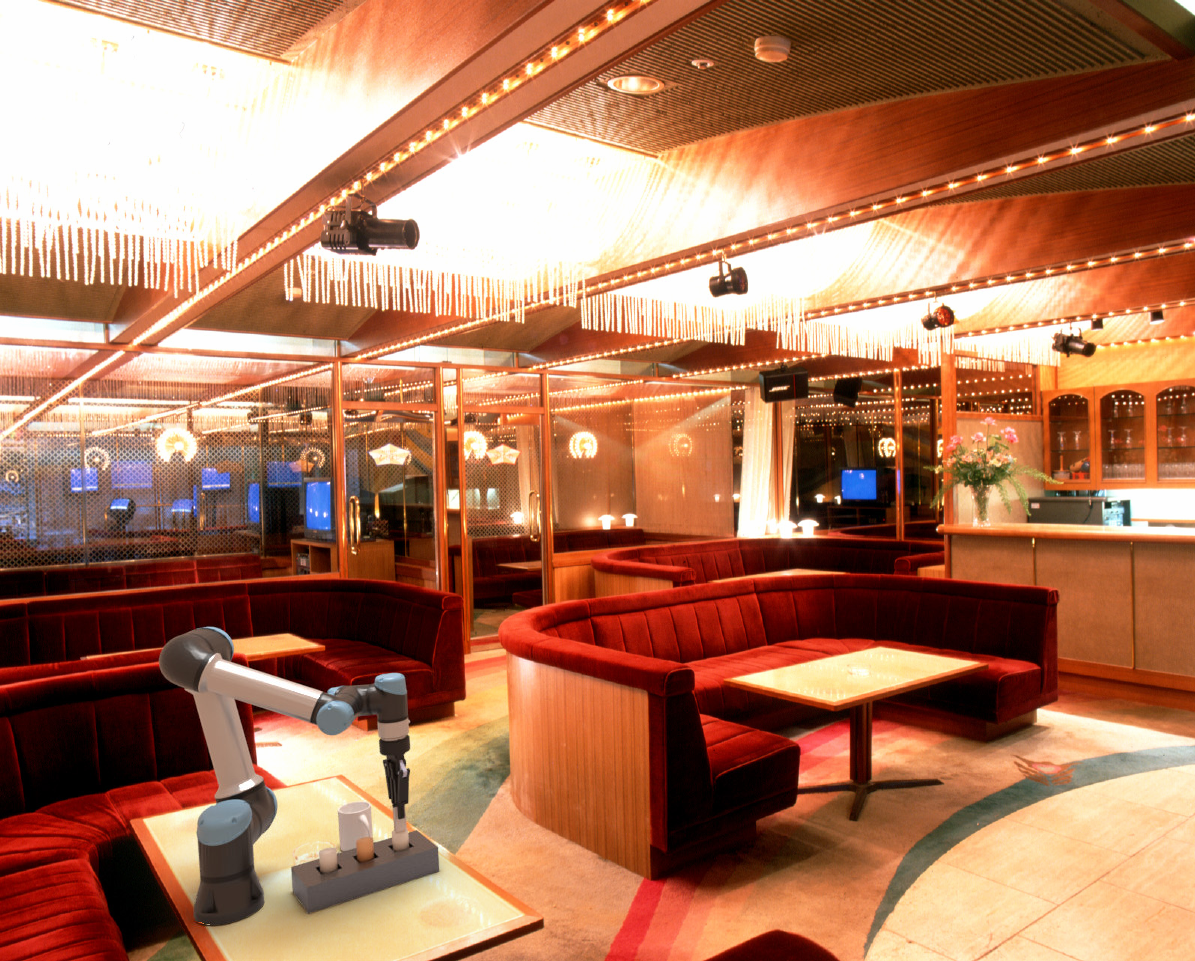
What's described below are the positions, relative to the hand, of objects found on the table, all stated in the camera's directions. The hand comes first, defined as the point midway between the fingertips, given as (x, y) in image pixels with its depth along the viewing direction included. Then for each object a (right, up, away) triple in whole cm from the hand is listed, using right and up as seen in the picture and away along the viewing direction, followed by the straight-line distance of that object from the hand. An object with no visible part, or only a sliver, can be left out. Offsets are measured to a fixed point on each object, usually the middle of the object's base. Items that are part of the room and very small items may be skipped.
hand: (400, 830), depth 213 cm
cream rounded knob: (0, -5, 0) cm, 5 cm away
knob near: (-15, -6, -10) cm, 19 cm away
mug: (-14, -11, +15) cm, 24 cm away
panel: (-7, -10, -5) cm, 14 cm away
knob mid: (-7, -5, -5) cm, 10 cm away
